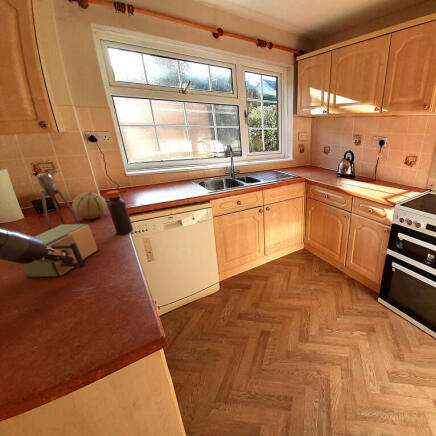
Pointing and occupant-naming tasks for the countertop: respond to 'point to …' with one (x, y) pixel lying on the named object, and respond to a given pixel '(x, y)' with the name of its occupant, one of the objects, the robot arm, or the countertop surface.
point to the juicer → (52, 196)
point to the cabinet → (78, 232)
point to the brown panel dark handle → (72, 250)
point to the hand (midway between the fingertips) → (70, 261)
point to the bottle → (119, 213)
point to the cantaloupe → (89, 205)
